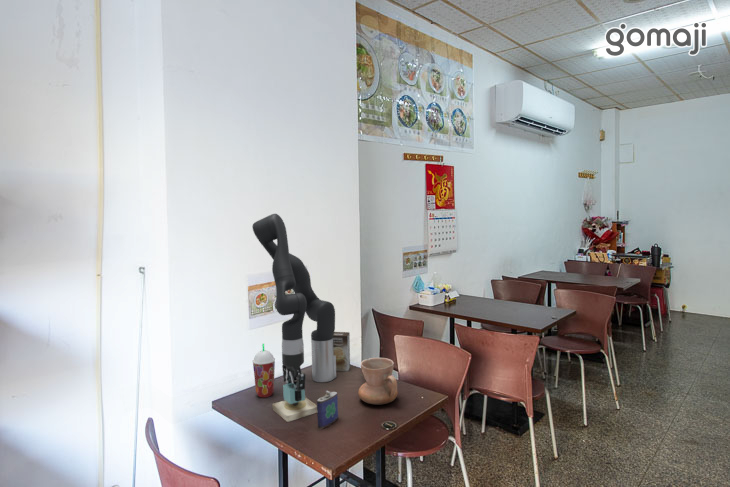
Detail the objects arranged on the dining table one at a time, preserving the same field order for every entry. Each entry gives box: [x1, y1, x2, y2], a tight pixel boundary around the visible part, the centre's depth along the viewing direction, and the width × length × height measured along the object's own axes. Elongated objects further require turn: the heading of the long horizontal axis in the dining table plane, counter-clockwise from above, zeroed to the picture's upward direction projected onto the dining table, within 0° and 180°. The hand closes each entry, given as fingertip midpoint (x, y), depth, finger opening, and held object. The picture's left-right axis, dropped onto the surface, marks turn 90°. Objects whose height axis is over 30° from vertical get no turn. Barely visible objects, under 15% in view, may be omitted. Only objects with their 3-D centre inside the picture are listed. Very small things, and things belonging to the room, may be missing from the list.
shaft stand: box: [272, 385, 317, 423], centre depth 149 cm, size 12×12×9 cm
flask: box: [316, 390, 339, 430], centre depth 140 cm, size 9×3×11 cm, turn 144°
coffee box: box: [333, 331, 351, 372], centre depth 190 cm, size 9×6×16 cm
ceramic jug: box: [357, 357, 399, 406], centre depth 155 cm, size 18×14×14 cm
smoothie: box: [252, 343, 276, 398], centre depth 163 cm, size 8×8×20 cm
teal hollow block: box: [282, 383, 306, 404], centre depth 149 cm, size 6×6×5 cm
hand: (294, 397), depth 149 cm, fingers closed on teal hollow block, 5 cm apart
